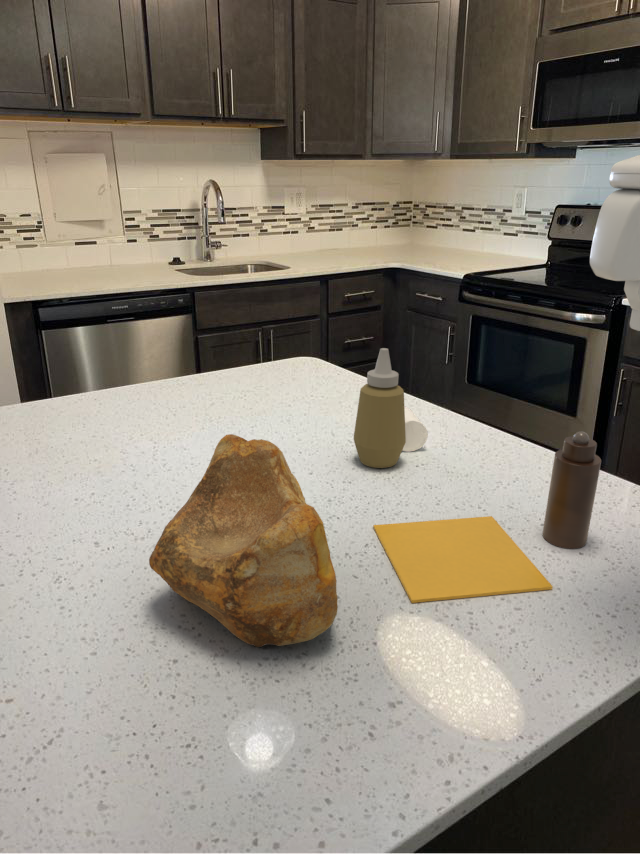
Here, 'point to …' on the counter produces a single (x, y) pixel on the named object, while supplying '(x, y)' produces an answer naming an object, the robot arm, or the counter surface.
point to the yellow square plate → (457, 559)
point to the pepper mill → (572, 492)
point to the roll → (414, 432)
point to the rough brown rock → (251, 548)
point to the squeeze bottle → (380, 416)
